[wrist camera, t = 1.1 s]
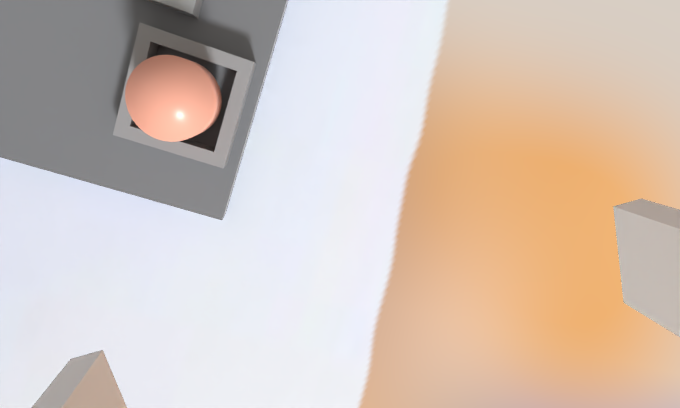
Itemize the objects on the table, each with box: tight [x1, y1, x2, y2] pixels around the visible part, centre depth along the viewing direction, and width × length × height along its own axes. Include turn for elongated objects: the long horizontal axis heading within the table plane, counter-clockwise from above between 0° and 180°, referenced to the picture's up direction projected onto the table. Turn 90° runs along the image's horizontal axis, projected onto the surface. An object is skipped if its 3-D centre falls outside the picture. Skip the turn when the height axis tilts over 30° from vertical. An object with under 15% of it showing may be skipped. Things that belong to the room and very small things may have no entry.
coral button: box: [125, 55, 222, 142], centre depth 26 cm, size 4×4×4 cm
